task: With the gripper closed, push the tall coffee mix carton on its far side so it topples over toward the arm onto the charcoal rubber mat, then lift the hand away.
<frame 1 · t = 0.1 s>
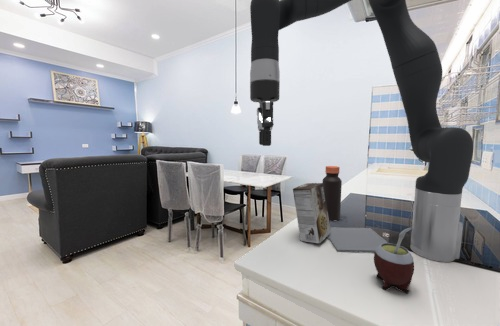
hand: (264, 145, 58), 29 cm above the worktop, tool pointing down, fingers open, 8 cm apart
mate gourd: (393, 286, 46), on the worktop
mat: (355, 239, 67), on the worktop
bottle: (330, 218, 85), on the worktop
coffee box: (316, 237, 67), on the worktop
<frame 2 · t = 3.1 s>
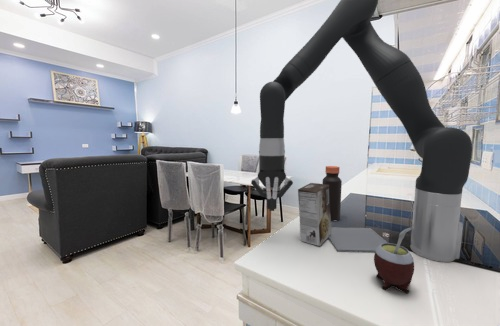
hand: (271, 210, 67), 9 cm above the worktop, tool pointing down, fingers closed
coffee box: (316, 238, 67), on the worktop, touching mat
everything else where it was.
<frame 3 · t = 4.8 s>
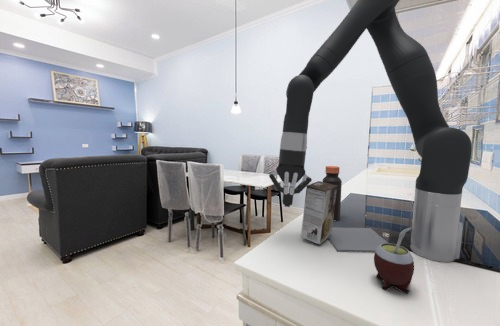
hand: (286, 205, 66), 11 cm above the worktop, tool pointing down, fingers closed
coffee box: (316, 236, 67), point 1 cm above the worktop, touching hand, mat
everything else where it was.
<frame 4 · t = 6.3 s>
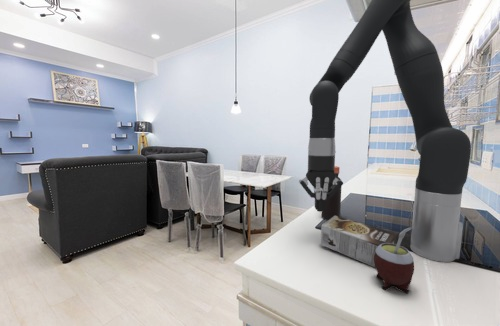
hand: (319, 210, 66), 9 cm above the worktop, tool pointing down, fingers closed
coffee box: (326, 229, 64), point 4 cm above the worktop, touching mat
everything else where it was.
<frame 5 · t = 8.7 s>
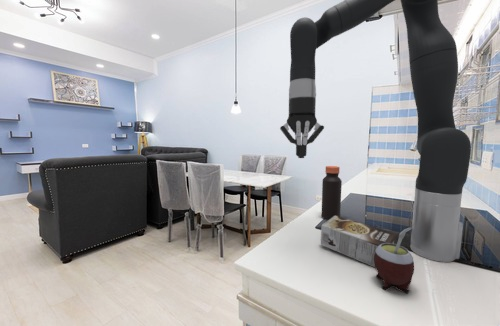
hand: (300, 157, 65), 25 cm above the worktop, tool pointing down, fingers closed
nothing on the worktop moved.
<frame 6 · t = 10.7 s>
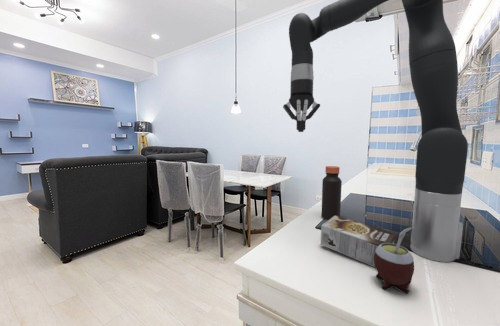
hand: (300, 131, 77), 33 cm above the worktop, tool pointing down, fingers closed
nothing on the worktop moved.
at the end: coffee box tilted 93°; coffee box touching mat, worktop; coffee box inside the target area (3.4 cm from its centre), point 4.2 cm above the worktop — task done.
